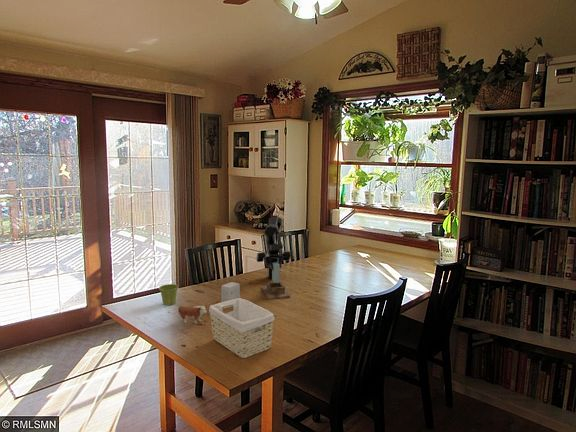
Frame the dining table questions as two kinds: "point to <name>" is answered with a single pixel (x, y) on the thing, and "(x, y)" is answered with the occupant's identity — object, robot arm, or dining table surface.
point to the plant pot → (168, 293)
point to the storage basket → (242, 327)
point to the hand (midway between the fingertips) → (276, 269)
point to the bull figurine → (192, 312)
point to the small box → (230, 291)
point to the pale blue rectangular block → (276, 272)
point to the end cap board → (275, 291)
